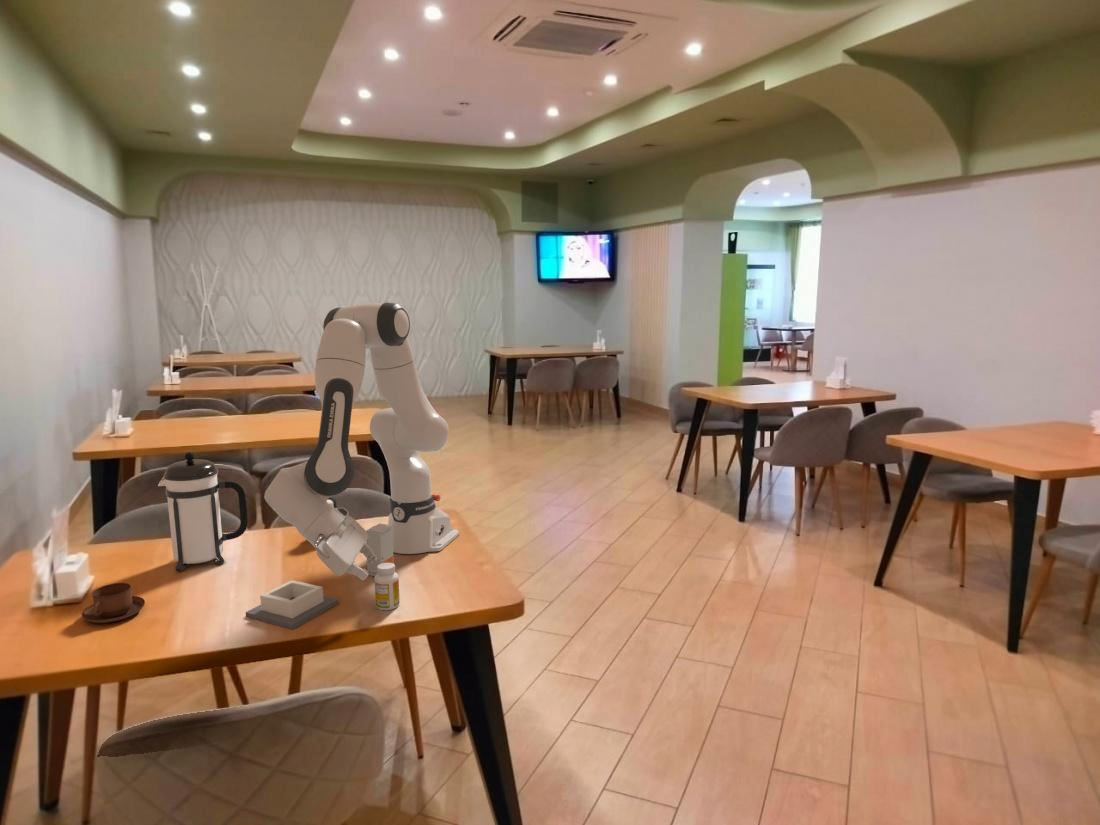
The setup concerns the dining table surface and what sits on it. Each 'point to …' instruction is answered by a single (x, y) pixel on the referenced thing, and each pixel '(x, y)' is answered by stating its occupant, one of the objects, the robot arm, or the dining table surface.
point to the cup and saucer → (113, 604)
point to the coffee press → (198, 511)
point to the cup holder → (291, 604)
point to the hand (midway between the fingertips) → (370, 569)
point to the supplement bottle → (386, 587)
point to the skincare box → (380, 546)
